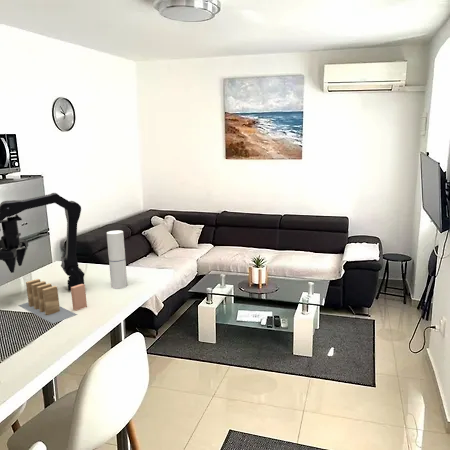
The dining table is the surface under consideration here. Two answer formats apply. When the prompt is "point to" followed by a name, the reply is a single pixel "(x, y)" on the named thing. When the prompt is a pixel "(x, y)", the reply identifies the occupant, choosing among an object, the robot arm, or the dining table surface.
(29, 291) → the domino
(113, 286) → the cylindrical container
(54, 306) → the domino
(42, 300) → the domino
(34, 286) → the domino
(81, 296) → the terracotta domino
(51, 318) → the mat
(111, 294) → the dining table surface
